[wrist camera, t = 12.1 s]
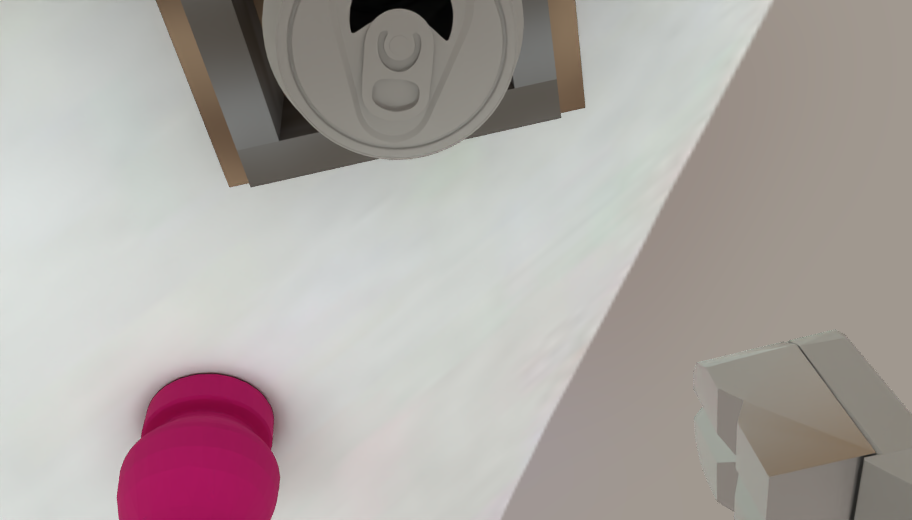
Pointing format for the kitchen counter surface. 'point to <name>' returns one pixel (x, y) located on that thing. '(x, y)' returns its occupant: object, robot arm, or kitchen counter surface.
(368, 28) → the beverage can
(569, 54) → the collar plate
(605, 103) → the kitchen counter surface
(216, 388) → the pepper mill
